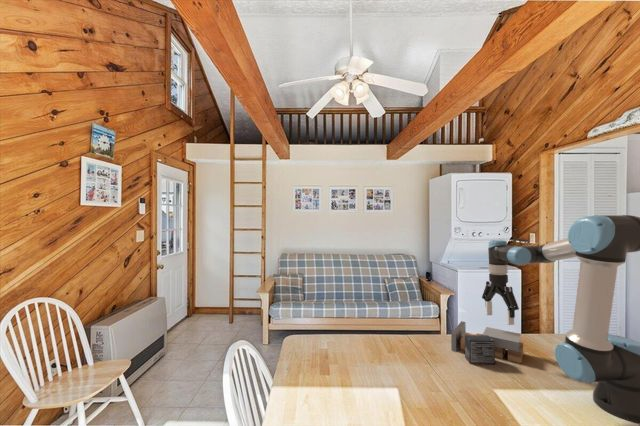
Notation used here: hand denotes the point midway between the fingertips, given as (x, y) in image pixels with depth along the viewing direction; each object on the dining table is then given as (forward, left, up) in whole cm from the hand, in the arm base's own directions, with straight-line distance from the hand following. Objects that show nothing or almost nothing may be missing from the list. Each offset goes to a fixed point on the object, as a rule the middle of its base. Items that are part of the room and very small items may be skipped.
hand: (499, 319), depth 140 cm
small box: (-13, +6, -16) cm, 22 cm away
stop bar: (+1, +18, -16) cm, 24 cm away
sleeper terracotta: (+1, +14, -16) cm, 21 cm away
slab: (+1, -1, -11) cm, 11 cm away
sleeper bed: (+1, +1, -16) cm, 16 cm away
